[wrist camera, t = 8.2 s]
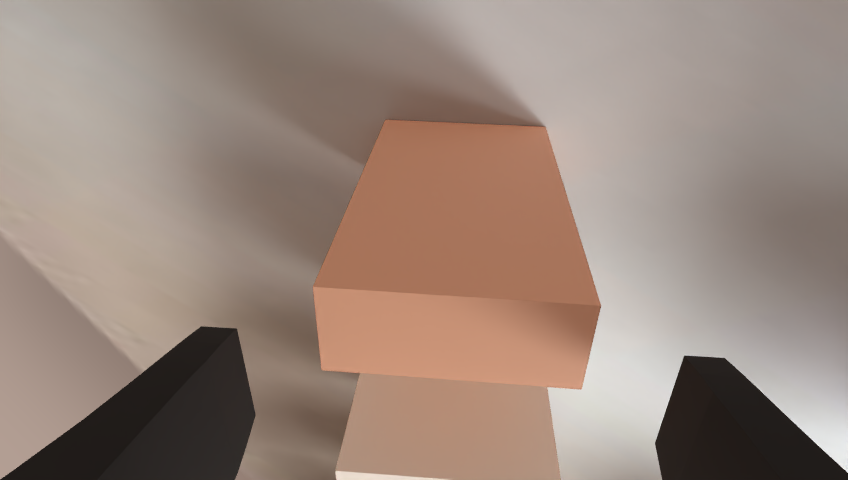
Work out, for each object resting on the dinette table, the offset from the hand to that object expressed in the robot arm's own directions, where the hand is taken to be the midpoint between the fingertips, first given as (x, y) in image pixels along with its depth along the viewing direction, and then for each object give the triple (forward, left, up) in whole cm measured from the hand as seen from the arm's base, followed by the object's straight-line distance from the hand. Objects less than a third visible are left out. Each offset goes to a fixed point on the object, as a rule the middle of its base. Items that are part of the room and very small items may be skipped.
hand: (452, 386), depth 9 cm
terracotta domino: (0, 0, -10) cm, 10 cm away
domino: (0, +5, -10) cm, 11 cm away
